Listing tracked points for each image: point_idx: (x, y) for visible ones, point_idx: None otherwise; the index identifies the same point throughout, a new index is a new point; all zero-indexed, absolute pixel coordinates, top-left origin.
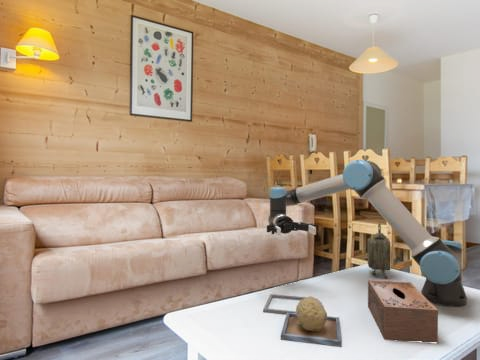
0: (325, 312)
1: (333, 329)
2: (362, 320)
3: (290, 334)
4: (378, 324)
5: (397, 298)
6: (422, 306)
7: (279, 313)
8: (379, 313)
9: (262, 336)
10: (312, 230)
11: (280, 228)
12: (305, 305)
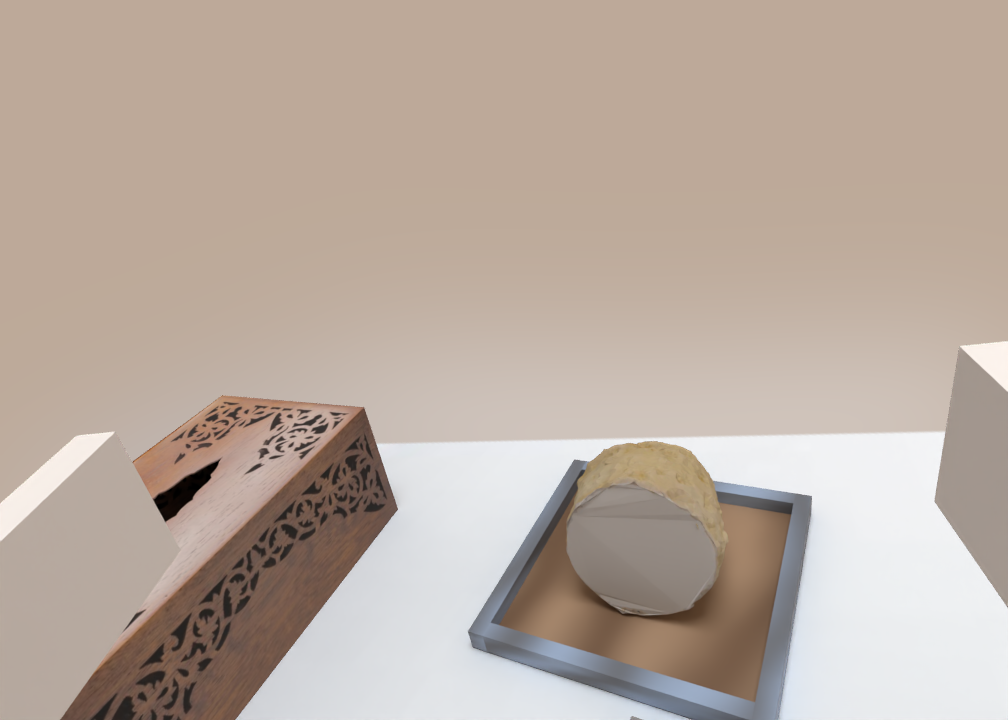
0: (589, 462)
1: (549, 561)
2: (346, 654)
3: (765, 496)
4: (336, 572)
5: (233, 464)
6: (234, 413)
7: None
8: (329, 516)
9: (906, 534)
10: (81, 576)
11: (969, 349)
12: (680, 449)
